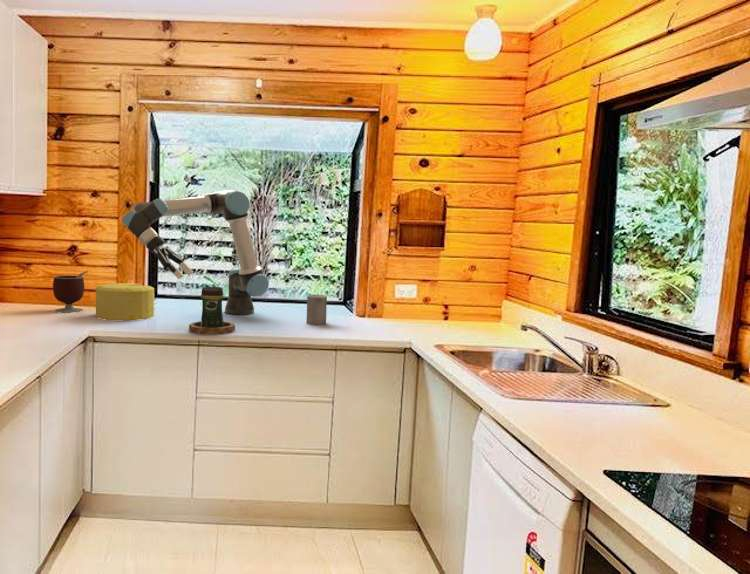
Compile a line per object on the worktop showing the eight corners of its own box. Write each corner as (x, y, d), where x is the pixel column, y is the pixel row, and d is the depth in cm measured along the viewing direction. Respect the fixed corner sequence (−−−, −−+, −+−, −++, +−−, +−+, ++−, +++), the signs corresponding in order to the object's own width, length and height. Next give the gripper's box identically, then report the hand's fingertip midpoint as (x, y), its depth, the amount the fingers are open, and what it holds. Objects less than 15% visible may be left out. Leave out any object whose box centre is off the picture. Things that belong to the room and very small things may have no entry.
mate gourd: (53, 313, 288) (53, 272, 286) (52, 309, 300) (52, 269, 298) (89, 312, 296) (89, 272, 294) (86, 308, 308) (86, 269, 306)
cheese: (161, 313, 303) (161, 284, 302) (143, 322, 277) (143, 290, 276) (109, 311, 302) (109, 281, 301) (85, 319, 276) (85, 287, 275)
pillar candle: (311, 320, 301) (312, 291, 299) (329, 322, 297) (330, 292, 296) (302, 324, 292) (303, 293, 290) (321, 325, 288) (321, 295, 287)
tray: (228, 325, 278) (228, 320, 277) (239, 333, 261) (239, 327, 261) (185, 327, 269) (185, 321, 268) (194, 335, 252) (194, 329, 252)
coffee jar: (224, 326, 269) (224, 286, 267) (222, 330, 262) (223, 288, 260) (202, 326, 268) (202, 285, 266) (199, 329, 260) (199, 287, 258)
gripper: (156, 244, 277) (189, 278, 278) (134, 248, 252) (170, 284, 253) (168, 233, 276) (200, 267, 277) (146, 235, 251) (182, 272, 253)
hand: (186, 275), depth 265 cm, fingers open, 13 cm apart
